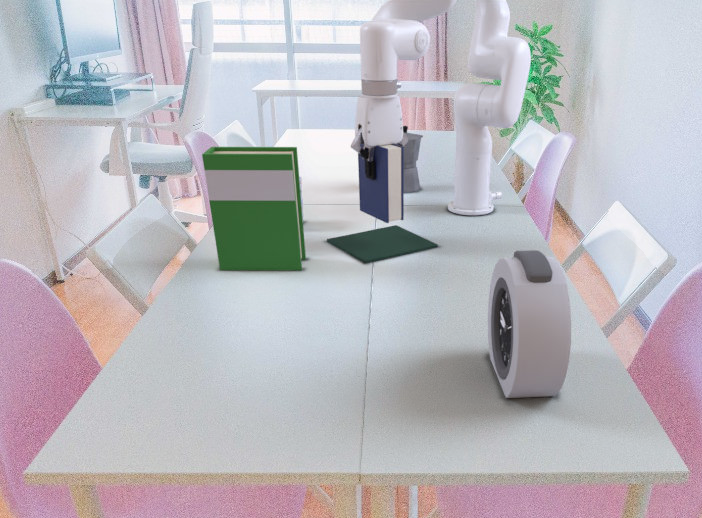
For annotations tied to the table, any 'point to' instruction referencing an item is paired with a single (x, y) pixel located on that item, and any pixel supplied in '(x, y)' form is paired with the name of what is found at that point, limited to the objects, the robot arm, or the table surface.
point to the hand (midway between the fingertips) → (380, 176)
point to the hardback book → (255, 207)
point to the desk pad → (381, 243)
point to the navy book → (383, 184)
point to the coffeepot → (411, 161)
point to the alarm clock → (529, 325)
